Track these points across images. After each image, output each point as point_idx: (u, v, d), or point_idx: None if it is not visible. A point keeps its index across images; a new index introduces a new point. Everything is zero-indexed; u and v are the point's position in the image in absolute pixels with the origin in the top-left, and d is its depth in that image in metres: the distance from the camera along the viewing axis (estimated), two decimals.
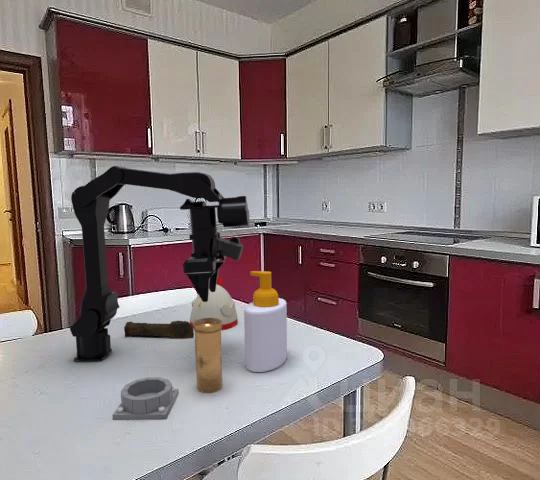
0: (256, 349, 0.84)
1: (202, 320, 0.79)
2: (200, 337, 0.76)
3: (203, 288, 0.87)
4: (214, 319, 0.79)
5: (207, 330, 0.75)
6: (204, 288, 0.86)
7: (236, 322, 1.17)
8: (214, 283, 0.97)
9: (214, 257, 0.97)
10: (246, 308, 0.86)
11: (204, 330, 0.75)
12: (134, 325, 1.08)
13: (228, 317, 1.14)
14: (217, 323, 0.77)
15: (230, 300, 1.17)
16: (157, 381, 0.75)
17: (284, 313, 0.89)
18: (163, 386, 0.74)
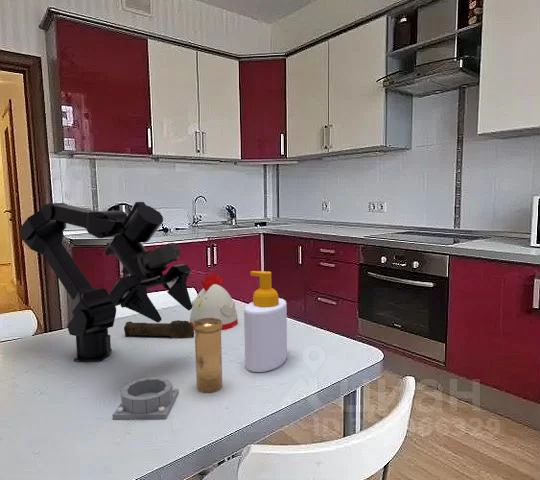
0: (256, 349, 0.84)
1: (202, 320, 0.79)
2: (200, 337, 0.76)
3: (147, 309, 0.77)
4: (214, 319, 0.79)
5: (207, 330, 0.75)
6: (147, 308, 0.77)
7: (236, 322, 1.17)
8: (186, 300, 0.86)
9: (173, 276, 0.88)
10: (246, 308, 0.86)
11: (204, 330, 0.75)
12: (134, 325, 1.08)
13: (228, 317, 1.14)
14: (217, 323, 0.77)
15: (230, 300, 1.17)
16: (157, 381, 0.75)
17: (284, 313, 0.89)
18: (163, 386, 0.74)
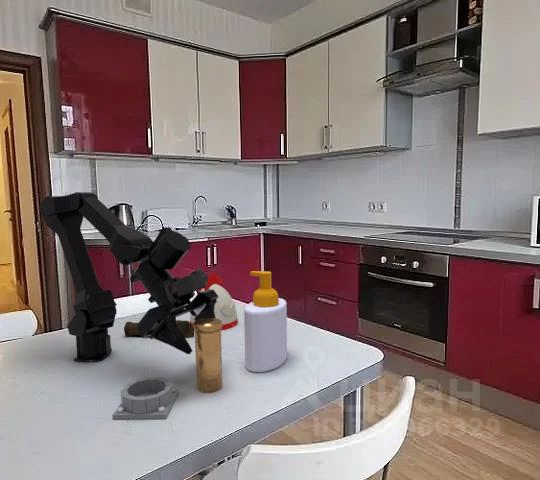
0: (256, 349, 0.84)
1: (202, 320, 0.79)
2: (200, 337, 0.76)
3: (177, 340, 0.74)
4: (214, 319, 0.79)
5: (207, 330, 0.75)
6: (177, 340, 0.74)
7: (236, 322, 1.17)
8: None
9: (200, 303, 0.85)
10: (246, 308, 0.86)
11: (204, 330, 0.75)
12: (134, 325, 1.08)
13: (228, 317, 1.14)
14: (217, 323, 0.77)
15: (230, 300, 1.17)
16: (157, 381, 0.75)
17: (284, 313, 0.89)
18: (163, 386, 0.74)
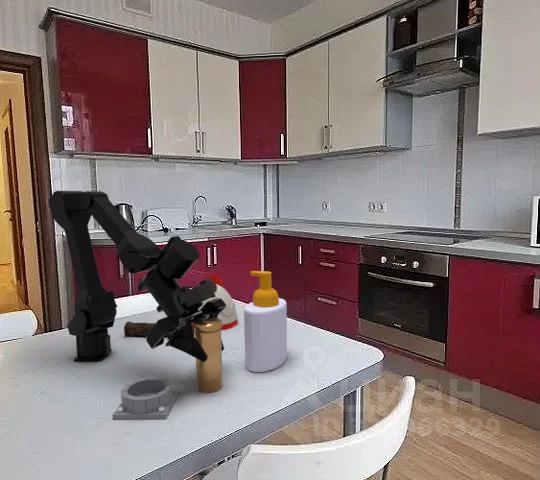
0: (256, 349, 0.84)
1: (202, 320, 0.79)
2: (200, 337, 0.76)
3: (193, 348, 0.75)
4: (214, 319, 0.79)
5: (207, 330, 0.75)
6: (193, 347, 0.75)
7: (236, 322, 1.17)
8: None
9: (202, 314, 0.82)
10: (246, 308, 0.86)
11: (204, 330, 0.75)
12: (134, 325, 1.08)
13: (228, 317, 1.14)
14: (217, 323, 0.77)
15: (230, 300, 1.17)
16: (157, 381, 0.75)
17: (284, 313, 0.89)
18: (163, 386, 0.74)
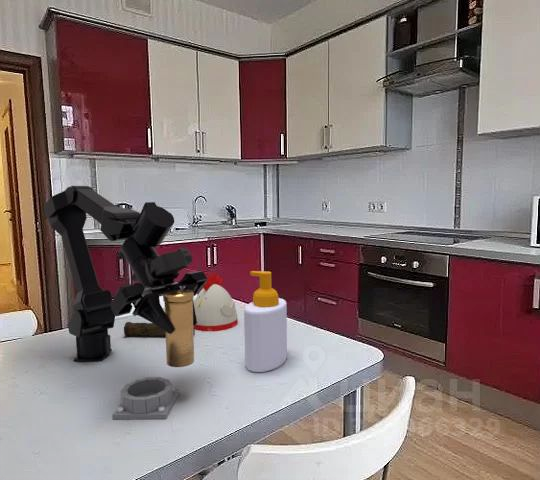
0: (256, 349, 0.84)
1: (174, 291, 0.74)
2: (168, 307, 0.71)
3: (159, 318, 0.71)
4: (186, 291, 0.74)
5: (174, 301, 0.71)
6: (159, 318, 0.71)
7: (236, 322, 1.17)
8: None
9: (179, 286, 0.78)
10: (246, 308, 0.86)
11: (171, 300, 0.71)
12: (134, 325, 1.08)
13: (228, 317, 1.14)
14: (186, 294, 0.72)
15: (230, 300, 1.17)
16: (157, 381, 0.75)
17: (284, 313, 0.89)
18: (163, 386, 0.74)
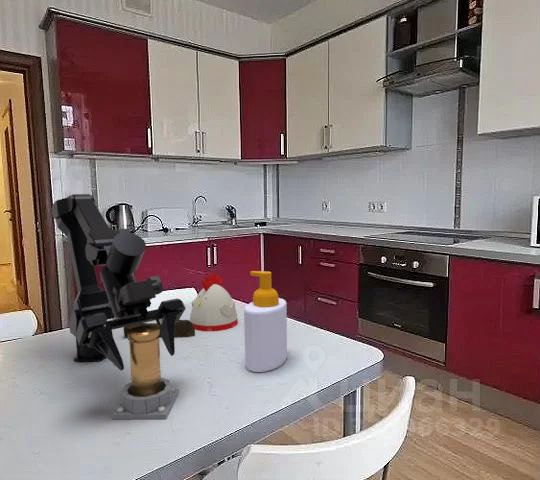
0: (256, 349, 0.84)
1: (142, 327, 0.72)
2: (131, 346, 0.69)
3: (111, 353, 0.68)
4: (153, 328, 0.72)
5: (135, 340, 0.68)
6: (110, 353, 0.68)
7: (236, 322, 1.17)
8: (169, 343, 0.74)
9: (162, 313, 0.77)
10: (246, 308, 0.86)
11: (132, 339, 0.68)
12: (134, 325, 1.08)
13: (228, 317, 1.14)
14: (149, 333, 0.69)
15: (230, 300, 1.17)
16: None
17: (284, 313, 0.89)
18: (163, 386, 0.74)
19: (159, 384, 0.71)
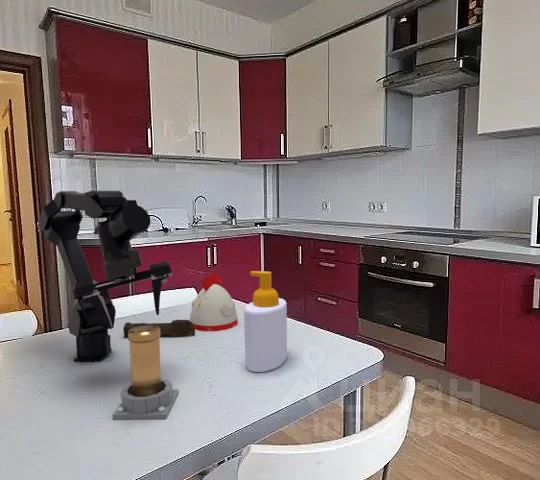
0: (256, 349, 0.84)
1: (142, 327, 0.72)
2: (131, 346, 0.69)
3: None
4: (154, 328, 0.72)
5: (135, 340, 0.68)
6: None
7: (236, 322, 1.17)
8: None
9: (150, 275, 0.83)
10: (246, 308, 0.86)
11: (133, 339, 0.68)
12: (133, 326, 1.08)
13: (228, 317, 1.14)
14: (150, 333, 0.69)
15: (230, 300, 1.17)
16: None
17: (284, 313, 0.89)
18: (163, 386, 0.74)
19: (159, 384, 0.71)
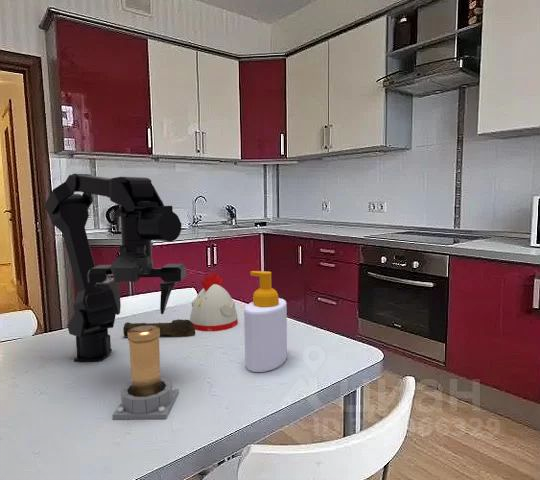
0: (256, 349, 0.84)
1: (142, 327, 0.72)
2: (130, 346, 0.69)
3: None
4: (153, 328, 0.72)
5: (135, 340, 0.68)
6: None
7: (236, 322, 1.17)
8: None
9: None
10: (246, 308, 0.86)
11: (132, 339, 0.68)
12: (133, 325, 1.08)
13: (228, 317, 1.14)
14: (149, 333, 0.69)
15: (230, 300, 1.17)
16: None
17: (284, 313, 0.89)
18: (163, 386, 0.74)
19: (159, 384, 0.71)
